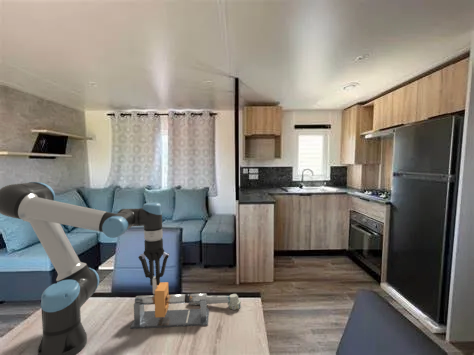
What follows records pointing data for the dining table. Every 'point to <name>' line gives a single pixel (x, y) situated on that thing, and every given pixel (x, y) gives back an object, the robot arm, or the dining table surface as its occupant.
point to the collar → (161, 299)
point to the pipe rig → (171, 312)
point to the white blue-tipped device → (223, 301)
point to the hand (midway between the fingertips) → (155, 292)
